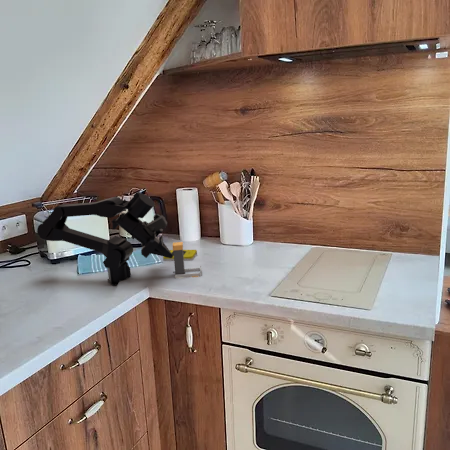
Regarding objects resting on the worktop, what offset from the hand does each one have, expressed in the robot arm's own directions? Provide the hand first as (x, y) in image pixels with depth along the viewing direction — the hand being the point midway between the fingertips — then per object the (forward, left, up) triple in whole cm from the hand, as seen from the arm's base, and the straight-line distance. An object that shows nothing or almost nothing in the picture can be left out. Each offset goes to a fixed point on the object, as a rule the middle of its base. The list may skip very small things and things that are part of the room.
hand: (172, 256), depth 154 cm
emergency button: (+10, +17, -8) cm, 22 cm away
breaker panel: (+4, -2, -8) cm, 9 cm away
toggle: (+2, -1, -6) cm, 7 cm away
